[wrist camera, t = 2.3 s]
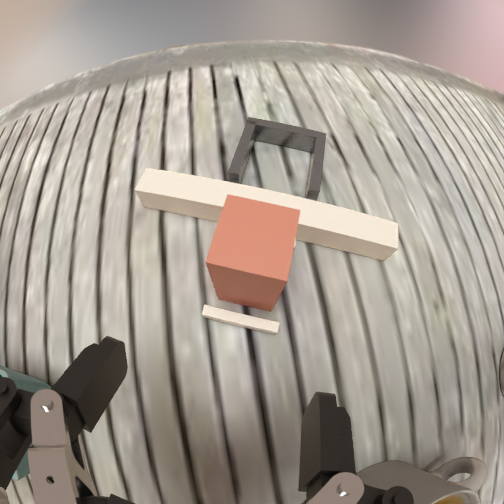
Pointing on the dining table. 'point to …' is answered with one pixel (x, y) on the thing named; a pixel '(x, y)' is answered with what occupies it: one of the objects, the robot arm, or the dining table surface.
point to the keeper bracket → (283, 137)
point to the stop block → (252, 251)
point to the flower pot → (31, 386)
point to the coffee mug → (430, 480)
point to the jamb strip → (311, 212)
